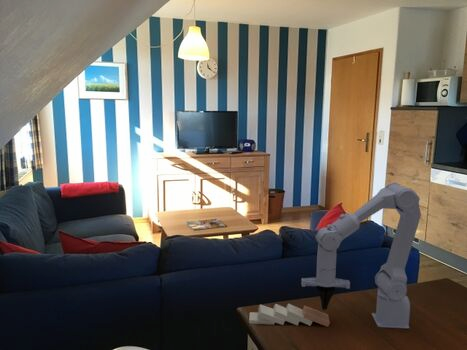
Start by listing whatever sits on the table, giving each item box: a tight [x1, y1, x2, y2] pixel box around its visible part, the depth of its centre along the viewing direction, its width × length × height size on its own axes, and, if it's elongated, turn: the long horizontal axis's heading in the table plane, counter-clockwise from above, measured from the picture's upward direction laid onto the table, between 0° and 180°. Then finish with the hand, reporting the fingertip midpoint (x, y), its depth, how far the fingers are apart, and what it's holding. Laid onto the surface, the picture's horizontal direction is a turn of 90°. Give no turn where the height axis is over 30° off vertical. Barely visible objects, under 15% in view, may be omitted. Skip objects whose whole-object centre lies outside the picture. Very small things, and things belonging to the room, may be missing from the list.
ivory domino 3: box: [272, 303, 300, 326], centre depth 127 cm, size 2×5×8 cm
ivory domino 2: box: [257, 304, 286, 326], centre depth 127 cm, size 2×5×8 cm
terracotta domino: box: [302, 305, 331, 328], centre depth 126 cm, size 2×5×8 cm
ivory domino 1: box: [248, 311, 275, 325], centre depth 128 cm, size 2×5×8 cm
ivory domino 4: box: [285, 303, 314, 327], centre depth 127 cm, size 2×5×8 cm
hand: (324, 308), depth 126 cm, fingers closed
